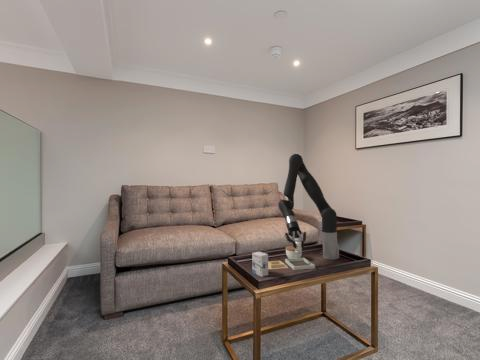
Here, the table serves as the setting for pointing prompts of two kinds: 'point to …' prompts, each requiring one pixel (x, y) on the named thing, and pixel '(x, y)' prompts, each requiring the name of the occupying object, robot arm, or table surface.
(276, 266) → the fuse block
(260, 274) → the ink box
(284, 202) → the robot arm
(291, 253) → the lidded jar
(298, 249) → the fuse
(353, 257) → the table surface
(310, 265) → the parts tray
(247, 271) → the table surface
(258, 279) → the table surface
